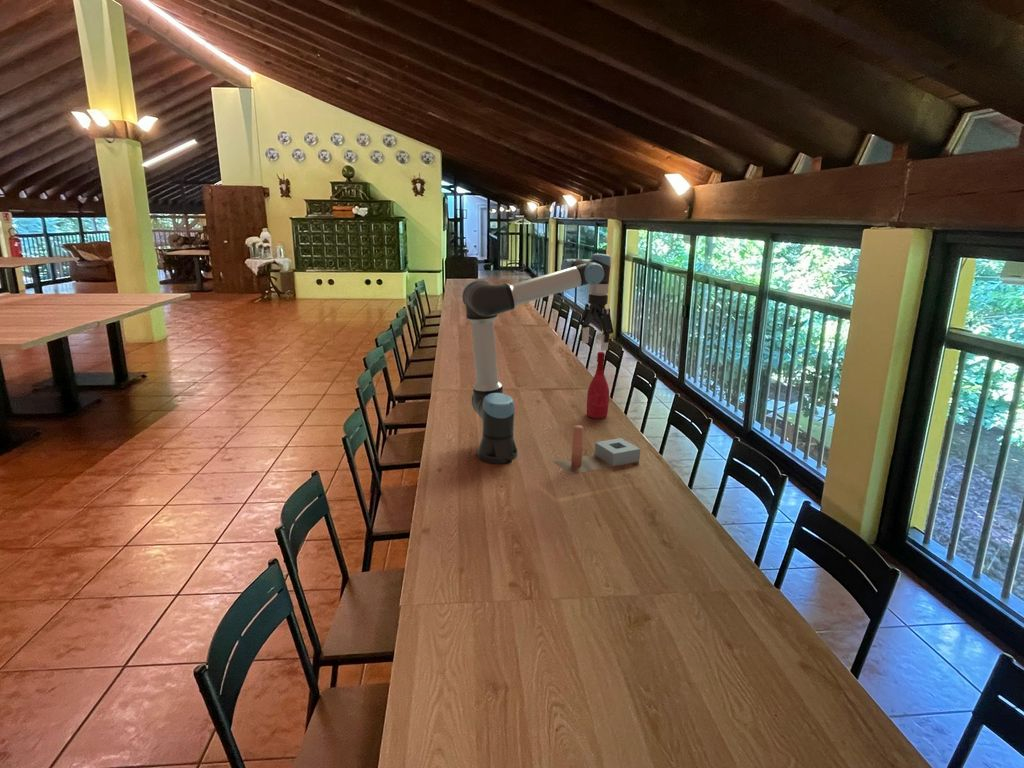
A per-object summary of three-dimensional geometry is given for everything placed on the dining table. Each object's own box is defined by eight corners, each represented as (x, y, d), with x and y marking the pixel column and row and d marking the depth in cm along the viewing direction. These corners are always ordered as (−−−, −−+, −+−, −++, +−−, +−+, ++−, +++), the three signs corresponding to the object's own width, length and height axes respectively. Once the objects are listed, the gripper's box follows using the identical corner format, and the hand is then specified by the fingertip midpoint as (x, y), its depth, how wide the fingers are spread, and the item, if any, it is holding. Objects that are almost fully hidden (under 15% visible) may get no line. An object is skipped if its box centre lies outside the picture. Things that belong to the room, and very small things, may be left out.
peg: (574, 468, 223) (577, 429, 219) (569, 464, 226) (571, 425, 222) (583, 466, 225) (585, 427, 221) (577, 462, 228) (580, 424, 224)
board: (570, 477, 218) (570, 474, 218) (553, 464, 228) (553, 461, 228) (638, 463, 231) (639, 461, 231) (619, 452, 241) (620, 449, 241)
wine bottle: (590, 420, 277) (595, 355, 268) (582, 412, 286) (586, 350, 277) (611, 418, 279) (616, 354, 271) (602, 411, 288) (606, 349, 280)
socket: (612, 466, 226) (613, 453, 224) (594, 454, 236) (595, 442, 234) (639, 461, 231) (640, 448, 229) (620, 449, 241) (621, 437, 240)
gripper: (625, 298, 233) (620, 352, 239) (588, 289, 255) (584, 339, 260) (609, 298, 230) (604, 354, 236) (573, 289, 251) (569, 340, 257)
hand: (594, 346), depth 248 cm, fingers open, 13 cm apart
